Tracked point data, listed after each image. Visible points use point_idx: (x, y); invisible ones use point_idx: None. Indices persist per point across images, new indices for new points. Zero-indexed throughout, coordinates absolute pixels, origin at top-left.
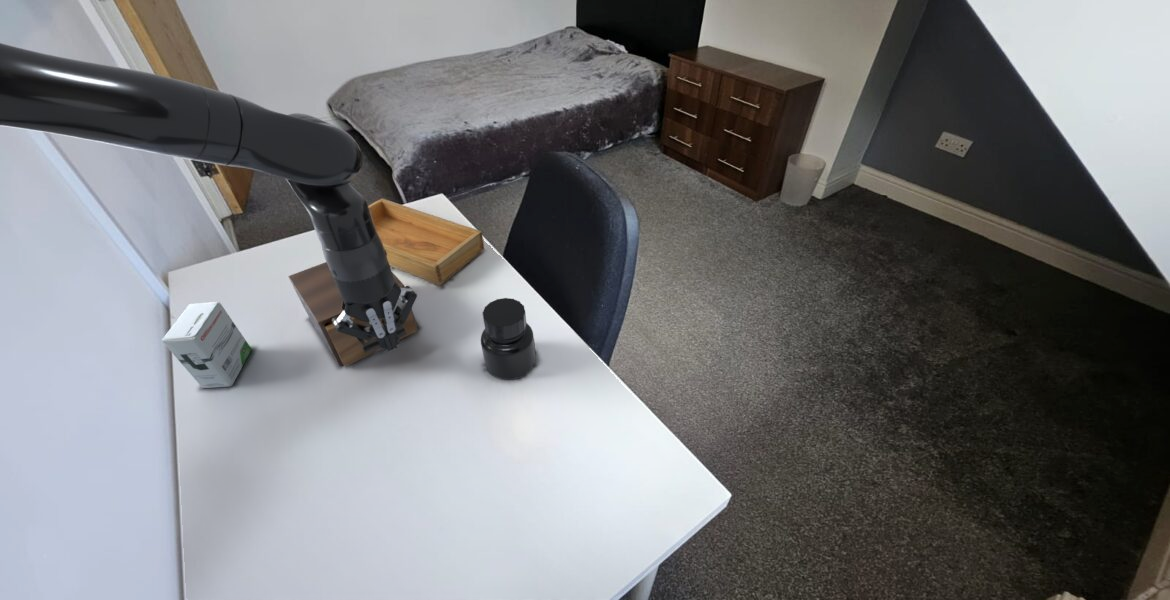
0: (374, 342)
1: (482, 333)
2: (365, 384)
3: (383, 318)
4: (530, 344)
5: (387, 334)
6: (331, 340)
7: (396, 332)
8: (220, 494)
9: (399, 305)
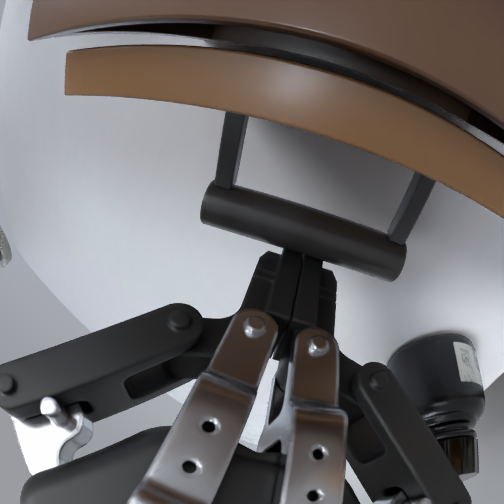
0: (252, 237)
1: (433, 409)
2: (216, 158)
3: (267, 439)
4: None
5: (273, 356)
6: (147, 32)
7: (358, 270)
8: (13, 178)
9: (380, 466)
